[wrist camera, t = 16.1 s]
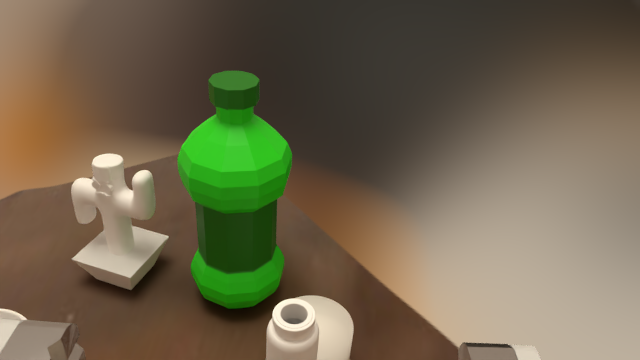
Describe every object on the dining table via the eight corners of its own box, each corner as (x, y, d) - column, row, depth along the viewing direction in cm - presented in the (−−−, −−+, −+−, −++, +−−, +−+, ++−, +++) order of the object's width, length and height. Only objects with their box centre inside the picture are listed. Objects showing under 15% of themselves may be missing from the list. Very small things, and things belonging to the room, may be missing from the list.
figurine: (110, 242, 65) (89, 132, 56) (180, 263, 62) (168, 152, 54) (69, 281, 59) (39, 165, 51) (143, 306, 57) (124, 189, 48)
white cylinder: (267, 408, 47) (268, 356, 43) (274, 344, 53) (275, 293, 49) (347, 412, 47) (355, 361, 43) (344, 347, 53) (351, 297, 49)
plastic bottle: (304, 291, 60) (319, 83, 46) (230, 344, 53) (222, 119, 39) (245, 248, 65) (243, 50, 52) (171, 291, 59) (146, 76, 45)
